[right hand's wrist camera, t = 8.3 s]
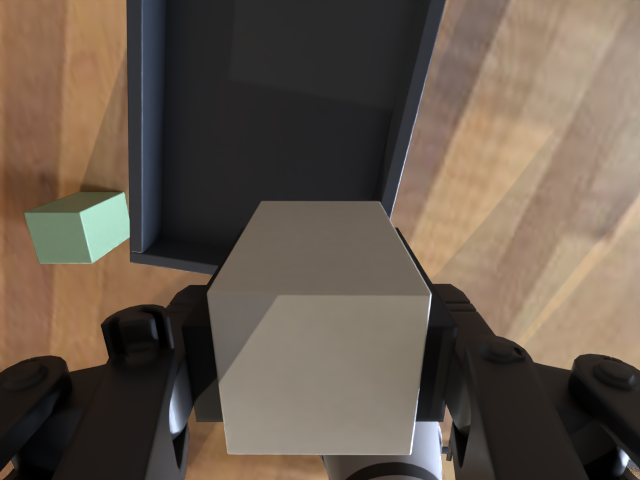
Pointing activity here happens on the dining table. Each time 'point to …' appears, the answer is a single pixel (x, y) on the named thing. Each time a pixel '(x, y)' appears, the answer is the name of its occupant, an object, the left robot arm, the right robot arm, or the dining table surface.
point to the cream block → (319, 332)
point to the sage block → (79, 227)
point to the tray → (265, 112)
